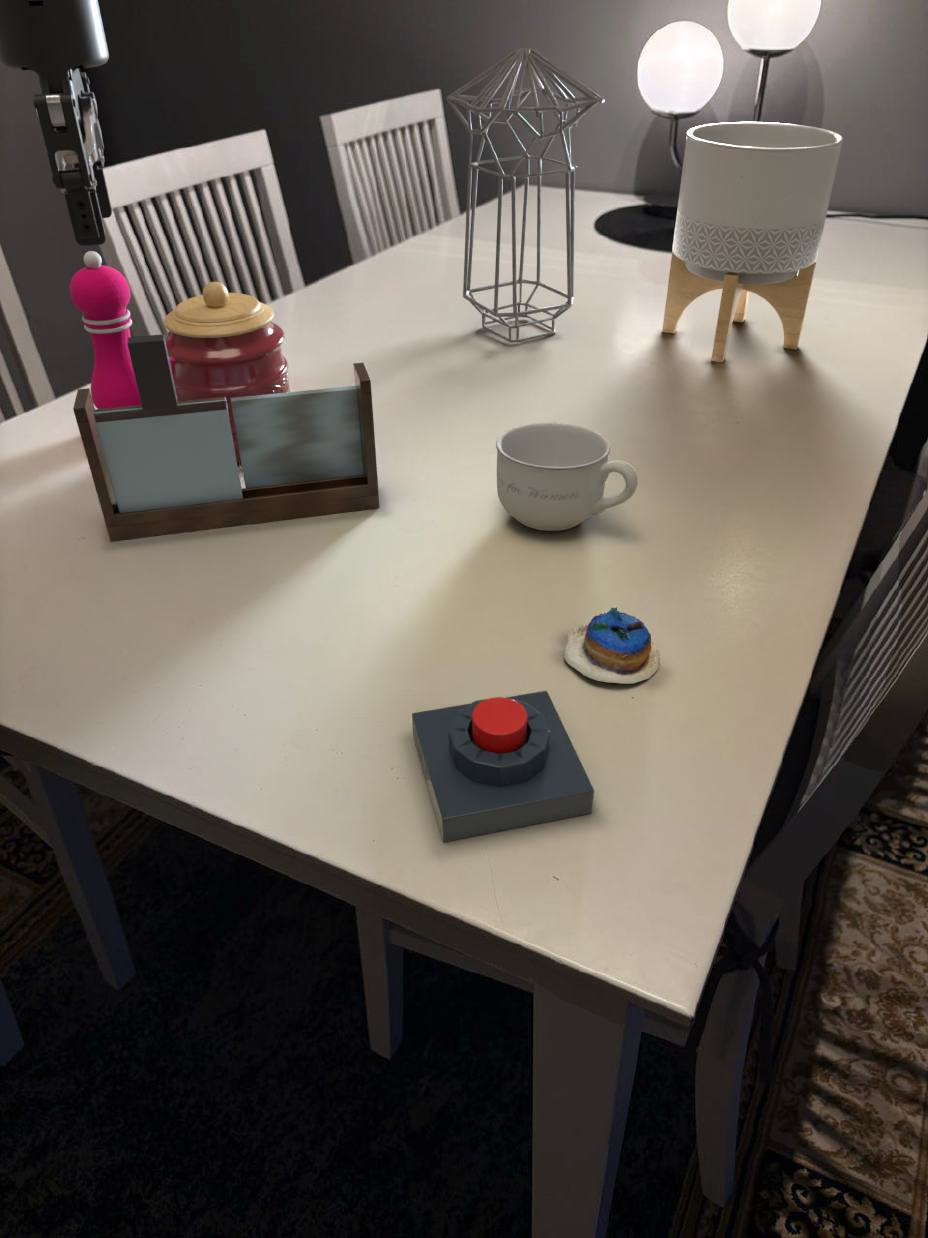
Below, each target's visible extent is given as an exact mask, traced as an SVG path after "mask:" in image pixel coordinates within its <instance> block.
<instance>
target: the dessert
mask: <svg viewBox="0 0 928 1238" xmlns="http://www.w3.org/2000/svg"><path fill="white" fill-rule="evenodd" d="M566 641H567V642H566V644H565V647H564V649H563V659H564V661H565V662H566V663H567V664H568V665H569V666H570V667H572V668H573V669H575V670H576V671H578V672H579V673H580V674H582V675H583V676H584V677H587V678H588V679H591V680H594V681H596V682H605V683H614V684H622V685H624V684H627V685H629V684H635V683H639V682H641V681H646V680H648V679H650V678H651V677H652V676H653V675H655V674H656V672H658V671H657V670H658V669H659V667H660V654H659V649H658V646H657V645H656V644H655V642H654V641H653V640H652V634H651V633H650V631H649V629H648V628H647V627H646V625H645V623H644V622H643V621H642V620H640V618H638V617H636V616H634V615H630V614H628V613H626V612H621V611H619V610H618V607H617V606H616V607H610V609H609V610H608V611H607V612H603V613H600V614H597V615H594V616H593V617H592V619H591V620H590V621H589V622H588V624H587V623H585V624H581V625H580V626H577V628H576V629H572V630H571V631H570V632H568V635H567V639H566Z"/></svg>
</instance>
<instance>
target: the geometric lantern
mask: <svg viewBox="0 0 928 1238" xmlns="http://www.w3.org/2000/svg"><path fill="white" fill-rule="evenodd" d="M523 61H524V64H523ZM522 64H523V70H522V75H521V80H520V85H519V89H516V90H515V88H516V84H517V80H518V77H519V73H520V70H521V68H522ZM499 69H500V70H499ZM497 70H499V71H498V72H497V73H496V74H495V75H494V76H493V77H492V79H490V81H489V82H488V83H487V84H486V86H485V87H483V89H482V90H481V92H479V93H478V95H467V94H462V93H463V92H465V91H466V90H468V89H470V88H471V87H473V86H474V85H476V84H477V83H479V82H481V81H482V80H483V79H485V78H486V77H488V76H489V75H491V74H493V73H494V72H496V71H497ZM526 74H527V75H526ZM509 75H510V77H509V80H508V81H507V85H506V87H505V89H504V92H503V95H502V97H501V98H494V96H495V95H496V93H498V90H499V89H500V88H501V86H502V85H503V83H505V81H506V79H507V78H508V76H509ZM526 76H527V80H528V82H529V86H526V87H523V85H524V81H525V77H526ZM544 76H545V77H544ZM545 78H546V79H547V81H548V82H549V84H550V85H551V86H552V87H553V89H554V90H555V91H556V92H553V91H551V88H550V86H549V85H548V83H547V81H546V79H545ZM534 79H535V80H534ZM561 80H562V81H563V82H565V83H566V84H568V85H569V86H570V87H572V88H573V89H575V90H576V91H577V92H579V93H580V94H582V95H583V96H574V95H573V93H572V92H571V91H570V90H569V89H568V88H567V87H566V86H565V85H564V84H563V83H562V81H561ZM535 81H536V83H537V86H538V88H536V84H535ZM490 89H491V90H490ZM489 90H490V91H489ZM488 91H489V92H488ZM537 92H541V94H542V95H543V97H544V98H545V101H546V102H547V104H548V105H541V106H540V105H539V100H538V95H537V94H538V93H537ZM486 93H488V94H487V96H486ZM530 93H531V96H532V101H533V106H521V105H522V103H523V102H524V101H525V100H526V99H527V97H528V96H529V94H530ZM522 94H523V95H522ZM515 96H517V98H516V103H515V104H514V106H513V105H512V107H511V103H512V102H513V97H515ZM445 100H446V102H447V103H448V104H449V106H450V107H451V109H452V111H454V113H455V114H456V116H457V117H458V119H459V120H460V122H461V123H462V124H463V126H464V127H465V129H466V131H467V132H468V133H469V134H470V137H469V152H468V153H469V156H468V157H469V158H468V165H467V181H466V182H467V185H466V211H465V213H466V214H465V232H464V233H465V237H464V259H463V260H464V261H463V281H462V282H463V286H462V298H463V299H465V300H466V301H468V302H469V303H470V304H471V305H472V306H473V307H474V308H475V309H476V310H477V311H478V312H479V314H481V328H483V329H484V330H486V331H488V332H490V333H492V334H494V335H496V336H497V337H499V338H501V339H503V340H505V341H507V342H509V343H521V342H525V341H531V340H534V339H539V338H542V337H547V336H550V335H556V329H555V324H556V319H557V318H558V317H560V316H561V315H563V314H564V313H565V312H566V311H568V310H569V309H571V308H572V307H573V304H574V300H575V296H574V294H575V290H574V289H575V209H576V208H575V206H576V205H575V204H576V203H575V202H576V200H575V198H576V197H575V196H576V195H575V194H576V170H577V169H578V166H577V165H576V164H572V151H571V149H572V148H571V147H572V146H571V129H572V128H573V127H575V128H576V127H578V124H579V123H578V122H579V120H580V119H581V118H582V117H583V116H585V114H587V113H588V112H590V110H592V109H593V108H594V107H596V106H597V105H598V104H604V103H605V102H606V100H605V98H603V97H602V96H601V95H599V94H598V93H597V92H595V91H593V90H592V89H591V88H589V87H588V86H587V85H586V84H584V83H582V82H581V81H580V80H578V79H577V77H575V76H573V75H572V74H570V73H569V72H567V71H566V70H565V69H563V68H562V67H561V66H559V65H558V64H557V63H555V62H554V61H552V60H551V59H550V58H548V57H547V56H546V55H544V54H543V53H542V52H540V51H538V50H537V49H536V48H534V47H532V48H530V47H520V48H517V49H515V50H514V51H512V52H511V53H509V54H508V55H506V56H505V57H503V58H502V59H501V60H499V61H498V62H496V63H495V64H494V65H492V66H490V67H489V68H487V69H486V70H485V71H483V72H482V73H480V74H478V75H477V76H476V77H474V78H473V79H471V80H470V81H468V82H467V83H466V84H464V85H463V86H461V87H459V88H458V89H456V90H455V91H454V92H452V93H450V94H449V95H448V96H446V98H445ZM557 100H558V101H560V102H563V103H564V104H565V106H564V107H561V106H560V105H559V103H558V101H557ZM468 101H471V103H469V102H468ZM479 102H481V104H480V105H479V106H477V104H478V103H479ZM455 103H456V104H457V105H460V106H463V108H465V109H466V115H467V120H466V118H465V117H464V115H463V114H462V112H461V111H460V109H459V108H458V107H457V105H456V104H455ZM494 104H495V105H496V104H499V105H498V106H492V105H494ZM486 106H488V107H486ZM580 109H581V110H580ZM575 110H576V112H575V115H574V116H573V117H572V118H570V119H569V120H567V117H568V113H569V112H572V111H575ZM471 112H472V113H473V114H474V115H476V120H477V126H478V129H477V128H476V129H474V128H473V127H472V116H471V115H472V114H471ZM502 112H503V113H505V118H498V117H499V115H500V114H501V113H502ZM543 112H553V115H554V117H555V118H556V121H557V122H558V123H557V124H556V125H555V128H554V130H553V131H549V132H545V133H544V117H543ZM486 113H487V115H486ZM521 113H535V116H536V118H539V129H540V133H539V132H538V131H537V130H536V129H535V128H534V127H533V126H532V125H531V124H530V123H529V122H528V121H527V120H526V119H525V117H524V116H522V115H521ZM513 115H514V117H515V118H516V119H517V120H518V121H519V122H520V123H521V124H522V125H523V126H524V127H525V128H526V129H527V131H529V133H531V134H532V135H533V136H534V138H533V139H532V141H531V142H530V144H529V145H528V147H527V148H525V147H524V145H523V144H522V142H521V140H520V139H519V137H518V135H517V134H516V132H515V130H514V129H513V127H512V126H511V124H510V122H509V120H511V118H512V117H513ZM481 119H482V120H484V121H485V123H484V125H483V126H482V122H481ZM493 123H495V124H506V125H507V127H508V128H509V130H510V131H511V133H512V135H513V136H514V138H515V139H516V141H517V143H518V144H519V147H520V148H521V149H522V151H523V154H522V155H516V156H509V157H508V156H507V157H501V158H498V157H497V154H496V152H495V150H494V148H493V145H492V142H491V140H490V138H489V136H488V131H489V129H490V126H491V125H492V124H493ZM565 130H567V141H566V137H565V132H564V131H565ZM473 135H482V136H481V140H480V144H479V147H478V151H477V155H476V158H475V161H473V162H472V157H473V156H472V154H473V138H474V137H473ZM558 135H559V137H560V141H561V145H562V150H563V154H564V158H565V162H563V161H560V160H556V159H552V158H548V157H545V155H546V153H547V152H548V150H549V148H550V146H551V144H552V142H553V141H554V139H555V138H556V136H558ZM547 138H548V140H547V143H546V144H545V146H544V148H543V150H542V152H541V153H540V155H531V154H530V155H529V154H528V153H529V151H530V150H531V148H532V147H533V146H534V144H535V143H536V141H537V140H543V139H547ZM485 143H486V146H487V148H488V151H489V152H490V154H491V157H492V158H491V159H485V160H481V157H482V153H483V149H484V146H485ZM524 159H525V171H524V174H517V175H514V174H515V172H516V170H517V169H518V168H519V166H520V164H521V163H522V161H523V160H524ZM514 160H518V161H517V163H516V165H515V166H514V167H513V169H512V171H511V172H510V174H505V172H504V170H503V168H502V166H501V164H500V162H507V161H514ZM530 161H537V172H534V173H530V164H531V162H530ZM542 161H545V162H549V163H553V164H556V165H560V166H564V167H566V169H560V170H552V171H542ZM491 163H494V164H495V166H496V168H497V170H498V172H496V171H493V170H490V169H487V168H485V167H482V166H479V165H483V164H491ZM479 171H482V172H483V173H487V174H489V175H493V176H496V177H498V191H497V192H498V193H497V217H496V223H497V224H496V245H495V266H494V267H495V269H494V270H495V271H494V272H495V273H494V284H491V285H484V286H480V287H475V288H471V286H472V272H473V271H472V269H473V253H474V239H475V223H476V206H477V193H478V175H479ZM560 174H565V175H564V176H565V178H564V179H565V181H564V182H565V233H566V234H565V235H566V236H565V237H566V238H565V239H566V286H567V289H566V290H567V291H566V292H567V293H566V292H564V291H562V290H559V289H557V288H554V287H552V286H551V285H548V284H546V283H543V282H541V257H542V255H541V254H542V253H541V250H542V249H541V245H542V244H541V243H542V228H541V227H542V226H541V225H542V176H551V175H560ZM472 176H473V177H472ZM535 177H537V178H536V179H537V182H536V184H537V187H536V189H537V196H536V197H537V198H536V207H537V208H536V280H533V279H532V280H530V279H526V278H525V279H524V278H523V276H524V263H525V248H526V246H525V245H526V232H527V215H528V213H527V212H528V199H529V182H530V181H529V179H530V178H535ZM472 178H473V180H472ZM516 179H524V186H523V187H524V188H523V189H524V190H523V206H522V223H521V237H520V238H521V241H520V243H521V244H520V256H519V257H520V258H519V269H518V270H519V271H518V279H517V209H516V208H517V206H516V205H517V204H516V203H517V202H516V201H517V200H516V198H517V197H516V195H517V194H516V192H517V191H516ZM504 180H507V181H508V180H509V181H510V185H511V186H510V187H511V190H510V191H511V199H510V200H511V249H512V250H511V262H512V263H511V265H512V268H511V269H512V272H511V273H512V280H510V281H506V282H505V281H504V282H501V283H500V262H501V240H502V239H501V237H502V216H503V215H502V214H503V183H504V182H503V181H504ZM472 181H473V183H472ZM471 197H472V199H471ZM518 284H519V300H518V292H517V290H518V289H517V288H518V287H517V286H518ZM523 284H526V285H534V288H533V290H532V292H531V293H530V295H529V297H528V298H527V300H526V302H523ZM508 286H512V303H510V304H507V305H502V306H499V289H500V288H503V287H508ZM538 287H541V288H544V289H545V290H548V291H550V292H553V293H554V294H557V295H559V296H561V297H563V298H566V299H567V301H566V302H565V303H563V304H562V303H561V304H556V305H551V306H550V305H549V306H544V307H538V306H536V305H533V304H530V301H531V300H532V298H533V296H535V292H536V291H537V289H538ZM493 289H494V292H493V293H494V294H493V295H494V296H493V308H491V309H490V307H488V306H486V305H484V304H482V303H481V302H479V301H478V300H477V299H476V298H475V296H474V295H473V293H477V292H483V291H488V290H493ZM521 306H524V310H522V311H521ZM508 308H513V309H512V312H498V311H501V310H504V309H508ZM529 308H531V309H529ZM556 310H557V311H556ZM551 311H556V312H555V313H554V312H551ZM538 313H544V314H546V315H549V316H551V317H547V318H543V319H542V318H541V319H537V318H534V317H533V316H530V315H534V314H538ZM489 314H490V315H489ZM486 318H488V319H489V320H488V321H486ZM519 318H526V319H529V320H531V321H529V322H524V323H520V324H519ZM512 319H515V321H514V325H511V324H509V322H508V321H509V320H512ZM548 321H549V322H550V321H551V325H549V324H547V323H545V322H548ZM495 323H498V324H500V325H502V326H504V327H506V328H508V337H507V336H505V335H503V334H501V333H500V332H498V331H496V330H493V329H492V328H490V327H488V326H486V325H491V324H495ZM536 324H539V325H541V326H543V327H545V328H547V329H549V330H551V331H549V332H544V333H540V334H535V335H532V336H528V337H523V338H520V328H522V327H526V326H527V327H528V326H532V325H536ZM512 329H515V331H516V333H515V334H516V335H515V339H512Z"/></svg>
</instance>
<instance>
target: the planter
mask: <svg viewBox="0 0 928 1238" xmlns="http://www.w3.org/2000/svg"><path fill="white" fill-rule="evenodd" d="M843 142H844V137H843V136H842V135H841V134H840V133H838V132H835V131H833V130H829V129H825V128H821V127H815V126H810V125H809V126H808V125H802V124H794V123H782V122H781V123H780V122H766V121H765V122H763V121H736V122H735V121H734V122H718V123H707V124H703V125H702V124H701V125H698V126H695V127H691V128H689V129H688V130H687V132H686V140H685V147H684V155H683V163H682V168H681V169H682V171H681V177H680V186H679V194H678V200H677V201H678V202H677V210H676V217H675V225H674V226H675V227H674V233H673V242H672V251H671V259H670V265H669V274H668V280H667V281H668V282H667V288H666V289H667V290H666V297H665V304H664V305H665V306H664V313H663V321H662V329H661V332H662V333H666V334H667V333H668V334H676V332H677V331H678V326H679V322H680V319H681V317H682V315H683V314H684V311H685V310H686V309H687V307H689V305H690V304H691V303H692V302H694V301H695V300H696V299H697V298H699V297H701V296H702V295H705V294H707V293H710V292H713V291H716V290H721V297H720V303H719V308H718V314H717V315H718V316H717V321H716V327H715V332H714V333H715V334H714V340H713V345H712V352H711V356H710V357H711V358H710V361H711V362H717V363H724V360H725V359H726V354H727V351H728V350H727V349H728V344H729V339H730V336H731V335H730V334H731V329H732V326H733V322H734V323H735V322H736V323H744V321H745V319H746V314H747V309H748V303H749V299H750V298H749V297H750V293H753V294H755V295H757V296H759V297H761V298H762V299H764V301H766V302H768V304H770V306H771V307H772V308H773V309H774V311H775V312H776V314H777V316H778V317H779V319H780V323H781V325H782V331H783V344H782V348H783V349H790V350H797V349H798V346H799V343H800V338H801V334H802V329H803V324H804V320H805V315H806V311H807V307H808V302H809V298H810V293H811V290H812V289H811V288H812V284H813V279H814V275H815V270H816V265H817V262H816V261H817V260H818V256H819V251H820V248H821V243H822V239H823V238H822V237H823V233H824V228H825V224H826V220H827V219H826V218H827V214H828V210H829V205H830V201H831V196H832V191H833V188H834V182H835V177H836V173H837V169H838V164H839V160H840V154H841V152H842V151H841V150H842V146H843Z"/></svg>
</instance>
